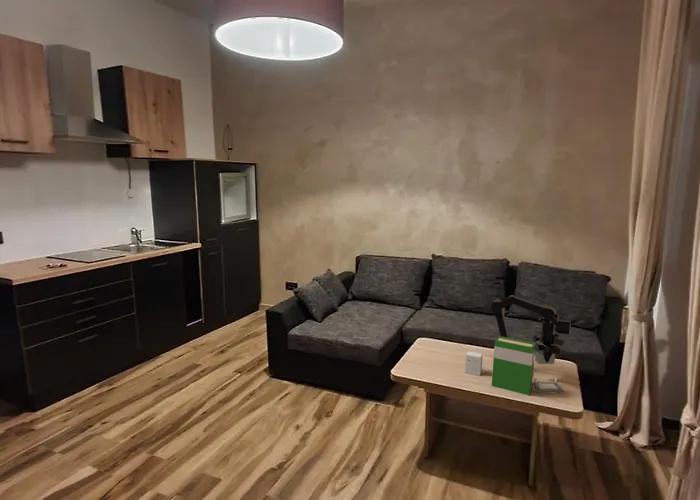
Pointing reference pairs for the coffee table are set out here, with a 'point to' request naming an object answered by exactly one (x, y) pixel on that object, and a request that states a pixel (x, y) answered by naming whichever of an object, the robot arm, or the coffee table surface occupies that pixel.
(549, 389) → the panel with knobs
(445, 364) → the coffee table surface
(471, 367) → the small box
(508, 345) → the hardback book
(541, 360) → the drive
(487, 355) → the coffee table surface
